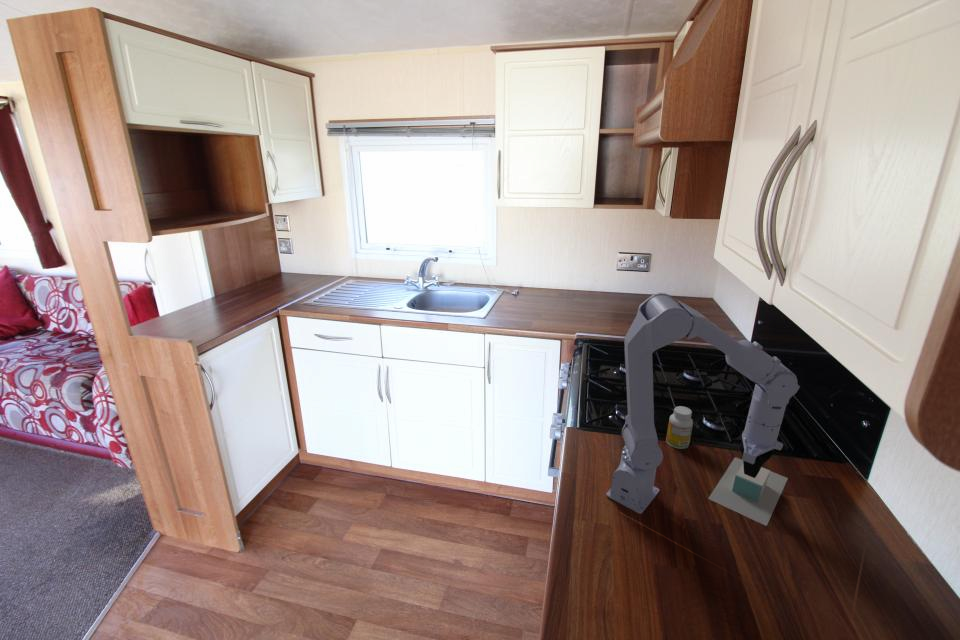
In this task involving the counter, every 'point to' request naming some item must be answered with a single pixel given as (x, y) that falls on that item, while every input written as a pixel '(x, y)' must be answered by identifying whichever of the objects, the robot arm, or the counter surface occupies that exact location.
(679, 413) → the supplement bottle
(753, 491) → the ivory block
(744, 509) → the grey mat
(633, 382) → the robot arm
